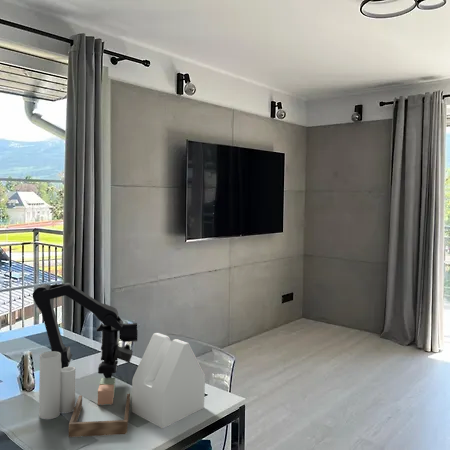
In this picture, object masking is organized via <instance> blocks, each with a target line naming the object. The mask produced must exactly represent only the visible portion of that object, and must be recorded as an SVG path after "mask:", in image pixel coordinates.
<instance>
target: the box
mask: <svg viewBox="0 0 450 450" xmlns="http://www.w3.org/2000/svg"><path fill="white" fill-rule="evenodd" d="M130 405H131V393H127V394H126V401H125V409H124V417H123V418H124V419H116V420H94V421H79V418H80V414H81V411H82V409H83V395H79V396H78V398H77V401H76V402H75V408H74V410H73V411H72V415H71V418H70V420H69V423H68V438H76V437H77V438H79V437H80V438H81V436H83V437H98V436H99V437H101V436H116V435H118V436H119V435H120V436H121V435H128V428H129V427H128V425H129V416H130V410H131V409H130V407H131V406H130Z"/></svg>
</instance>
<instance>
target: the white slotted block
mask: <svg viewBox="0 0 450 450" xmlns="http://www.w3.org/2000/svg"><path fill="white" fill-rule="evenodd" d="M131 382H132V383H131V413H133V414H135V415H137V416H139V417H140V418H143V419H144V420H146V421H148V422H150V423H151V424H153V425H155V426H157V427H159V428H160V429H165V428H167V427H168V426H170V425H172V424H174V423H176V422H178V421H181V420H182V419H185V418H186V417H188V416H190V415H192V414H194V413H196V412H198V411H200V410H203V409H204V408H205V392H206V391H205V389H206V387H205V386H206V374H205V372H204V370H203V369H202V367H201V365H200V363H199V360H198V359H197V357H196V355H195V353H194V351H193V348H192V347H191V345H190V343H189V342H186V341H183V340H180V339H178V338H177V339H176V338H174V339H172V340H171V338H170V337H169V336H168V335H166V334H163V333H160V332H154V333H153V334H152V336H151V337H150V340H149V343H148V344H147V346H146V348H145V351H144V354H143V355H142V357H141V359H140V362H139V364H138V366H137V368H136V370H135V373H134V375H133V376H132V381H131Z"/></svg>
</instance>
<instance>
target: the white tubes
mask: <svg viewBox="0 0 450 450" xmlns="http://www.w3.org/2000/svg"><path fill="white" fill-rule="evenodd" d="M61 368H62V363H61V353H60V352H56V351H51V350H50V351H44V352H42V353H40V354H39V379H38V381H39V387H38V388H39V390H38V391H39V395H38V397H39V400H38V402H39V403H38V416H39V418H40V419H43V420H52V419H55V418H58V417H59V416H60V415H61V414H68V413H71V412H72V413H73V411H74V408H75V406H76V367H74V366H68V367H65V368H62V369H61Z"/></svg>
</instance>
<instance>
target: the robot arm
mask: <svg viewBox="0 0 450 450" xmlns="http://www.w3.org/2000/svg"><path fill="white" fill-rule="evenodd" d="M64 296H66V297H68V298H69V299H71V300H72V301H74V302H75V303H77V304H78V305H80V306H82V307H84V308H85V310H86V309H87V311H90V312H91V313H92V314H93V315H94V316H95V317H96V318H97V319H98V321H100V322H101V323H100V324H99V326H97V328H96V332H101V346H100V350H101V356H100V361H101V362H100V363H99V364H98V368H97V373H98V374H99V375H100V374H101V375H103V378H113V374H116V373H117V370H118V369H117V368H118V363H119V360H121V361H124V362H125V363H130V362H131V359H132V356H133V353H134V351H133V349H131V346H130V344H125V345H124V346H119V342H118V340H120V341H121V342H123V343H130V342H131V343H132V342H138V336H139V335H138V333H139V332H138V331H139V330H138V322H132V323H131V322H130V323H124V321H123V320H122V319H121V317H120V316H119V311H118V309H117V308H116V307H113V306H111V305H110V304H105V303H102V302H100V301H98V300H97V299H95V298H93V297H92V296H90V295H88V294H87V293H85V292H84V291H82V290H81V289H79V288H78V287H76V285H75V286H74V284H73V283H72V282H65V283H58V284H57V283H56V284H50V285H49V284H47V283H43V284H40V285H39V286H38V287H36V289H35V290H33V293H32V299H33V301H34V304H35V305H36V307H37V308H38V310H39V311H40V312H41V316H42V319H43V323H44V326H45V331H46V334H47V338H48V341H49V345H50V349H51V350H50V351H56V352H60V353H61V363H62V368H65V367H70V366H69V365H70V364H71V360H72V358H73V354H72V352H71V347H70V345H68V346H66V345H65V344H64V342H63V337H62V335H61V330H60V328H59V327H60V326H59V323H58V319H57V315H56V312H55V309H54V304H55V303H54V300H55V299H57V298H60V297H64ZM118 333H119V334H118ZM118 336H119V337H118ZM118 338H119V339H118ZM62 368H61V369H62Z"/></svg>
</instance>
